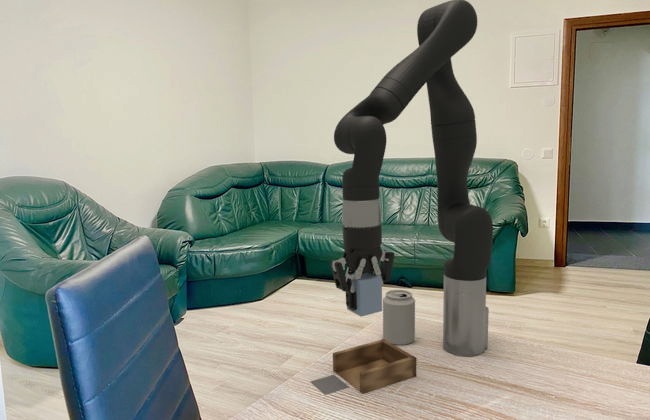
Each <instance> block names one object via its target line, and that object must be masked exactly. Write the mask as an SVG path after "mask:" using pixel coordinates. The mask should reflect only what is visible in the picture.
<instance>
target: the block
mask: <svg viewBox="0 0 650 420" xmlns="http://www.w3.org/2000/svg"><path fill="white" fill-rule="evenodd" d="M353 275H355V273H353ZM351 281H352V280H351ZM382 287H383V285H382V280H381V276H375V275H372V274H369V273H365V274H363V275H361V278H360V280H357V282H356V291H355V292H356V296H357V310H355V311H352V310H350V309H349V308H348V307H347V306H346V310H348V311H349V312H352V313H353V314H356V315H357V316H359V317H365V316H369V315H373V314H376V313H380V312H383V288H382Z"/></svg>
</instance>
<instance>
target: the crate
mask: <svg viewBox="0 0 650 420" xmlns="http://www.w3.org/2000/svg"><path fill="white" fill-rule="evenodd" d="M332 370H333V371H332V372H334V373H335V374H336V375H338V376H339V377H340V378H342V379H343V381H346V382H347V383H348V384H349V385H351V386H352V387H354V389H356V390H357V391H359V392H360V393H361V394H362V395H364V394H368V393H370V392H374V391H377V390H379V389H383V388H385V387H388V386H391V385H394V384H397V383H400V382H404V381H406V380H410V379H413V378H416V377H417V357H415V356H414V355H413V354H410V353H409V352H407V351H406V350H404V349H402V348H401V347H398V345H395V344H391V343H390V342H388V341H386V340H384V339H383V338H382V339H379V340H375V341H371V342H368V343H365V344H361V345H357V346H354V347H350V348H346V349H342V350H339V351H335V352H332Z"/></svg>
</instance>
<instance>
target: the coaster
mask: <svg viewBox="0 0 650 420" xmlns="http://www.w3.org/2000/svg"><path fill="white" fill-rule="evenodd" d="M310 383H311V384H312V385H313V386H314V387H315V388H316V389H317V390H319V391H320V392H321V393H322V394H323V395H324V396H326V395H329V394H333V393H336V392H339V391H342V390H344V389H347V388H348V389H349V388H350V386H349V385H348V384H346V383H345V382H344V380H343V381H342V379H340V378H339V377H338V376H337V375H335V374H331V375H328V376H324V377H320V378H318V379H314V380H311V381H310Z"/></svg>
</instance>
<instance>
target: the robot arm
mask: <svg viewBox="0 0 650 420" xmlns="http://www.w3.org/2000/svg"><path fill="white" fill-rule="evenodd" d="M475 9H476V8H474V6H473V5H472V4H471V3H470V2H469V1H467V0H448V1H445V2H443V3H440V4H437V5H434V6H431V7H430V8H427V9H425V10H424V11H423V12H422V13H421V14H420V16H419V17H418V21H417V26H416V27H417V28H416V32H417V33H416V34H417V41H418V47H417V48H415V49H414V50H413V51H411V53H410V54H408V55H407V56H406V57H404V58H403V59H402V60H401V61H399V62H398V63H397V64H396V65H394V66H393V67H391V69H390V70H388V72H387V73H386V74H385V75H384V76H383V77H382V78H381V80H380V81H379V82H378V83H377V85H376V86H375V87H374V88H373V89H372V90H371V92H370V93H369V95H367V97H365V98H364V99H363V100H362V101H360V102H358V103H357V105H355V106H354V107H353V108H351V109H350V110H349V111H348V112H347V113H345V115H343V116H342V118H341V119H340V120H339V122H338V123H337V124H336V127H335V129H334V132H333V141H334V144H335V147H336V148H337V149H338V150H339V151H340V152H342V153H344V154H346V155H353V161H352V164H351V165H352V166H351V167H349V168H346V169H345V170H344V171H343V174H342V179H341V180H342V181H341V182H342V185H341V186H342V207H341V215H342V216H341V218H342V219H341V221H342V244H343V248H344V252H343V254H342V257H340V258H339V259H337V260H335V259H331V261H330V263H329V265H330V269H331V272H332V276H333V280H334V284H335V287H336V289H338V290H341V291H343V292H345V305H346V308H347V307H348V308H349V309H350V310H352V311H355V310H357V296H356V292H355V291H356V282H357V280H360V278H361V275H363V274H365V273H369V274H372V275H375V276H381V280H382V286H383V285H384V283H386V282H390V281H391V276H392V271H393V265H394V259H395V252H393V251H390V250H386V249H384V250H383V249H382V248H381V246H382V244H383V236H382V235H383V232H382V230H383V228H382V223H383V222H382V206H381V200H380V196H381V195H380V174H381V171H382V167H383V161H384V157H385V153H386V148H387V133H386V129H385V126H384V125H386V124H389V123H391V122H394V121H395V120H397V119H398V117H399V116H400V115H401V114H402V113H403V111H404V110H405V109H406V108H407V106H408V105H409V104H410V103H411V101H412V100H413V99H414V97H415V96H416V94H418V92H419V91H420V90H421V89H422V88H423V87H424V86H425V84H426V89H427V97H428V104H429V112H430V126H431V127H430V128H431V136H432V144H433V150H434V161H435V162H434V163H435V173H436V182H437V225H438V229H439V232H440V234H441V236H442V237H443V238H444V239H445V240H447V241H448V242H451V243H454V249H453V250H454V251H453V257H452V258H450V259H447V260H446V261H445V262H444V263H443V309H442V310H443V311H442V313H443V315H442V317H443V318H442V321H443V323H442V324H443V325H442V347H443V349H444V350H445V351H446V352H448V353H450V354H453V355H456V356H462V357H463V356H465V357H471V356H472V357H474V356H478V355H481V354H483V353H484V352H485V350H486V349H488V347H489V342H488V341H489V307H487V305H486V303H487V297H486V296H487V275H488V274H487V271H488V268H489V267H490V264H491V261H492V249H493V237H494V224H493V223H494V222H493V219H492V216H491V214H490V213H489V211H488V210H487V209H486V208H484V207H482V206H478V205H473V204H471V202H470V198H469V190H468V188H469V187H468V175H469V172H470V171H469V170H470V168H471V165H472V163H473V159H474V156H475V154H476V153H475V152H476V151H477V150H476V149H477V143H478V136H477V134H478V133H477V126H476V125H477V122H476V114H475V110H474V108H473V105H472V103H471V102H470V99H469V97H467V94H466V93H465V92H464V90H463V89H462V87H461V85H460V84H459V82H458V81H457V79H456V77H455V74H454V69H453V64H452V63H453V62H452V58H453V56H454V55H456V54H457V53H458V52H459V51H460V50H462V49H463V48H465V47H466V45H467V44H468V43H470V42H471V40H472V39H473V37H474V36H475V34H476V32H477V29H478V15H477V12H476V10H475ZM379 262H380V263H379ZM379 264H380V265H379ZM345 265H346V266H347V269H346V268H345V267H346V266H345ZM345 269H346V271H345ZM353 274H355V275H353ZM351 280H352V281H351ZM350 310H349V311H350Z"/></svg>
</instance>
